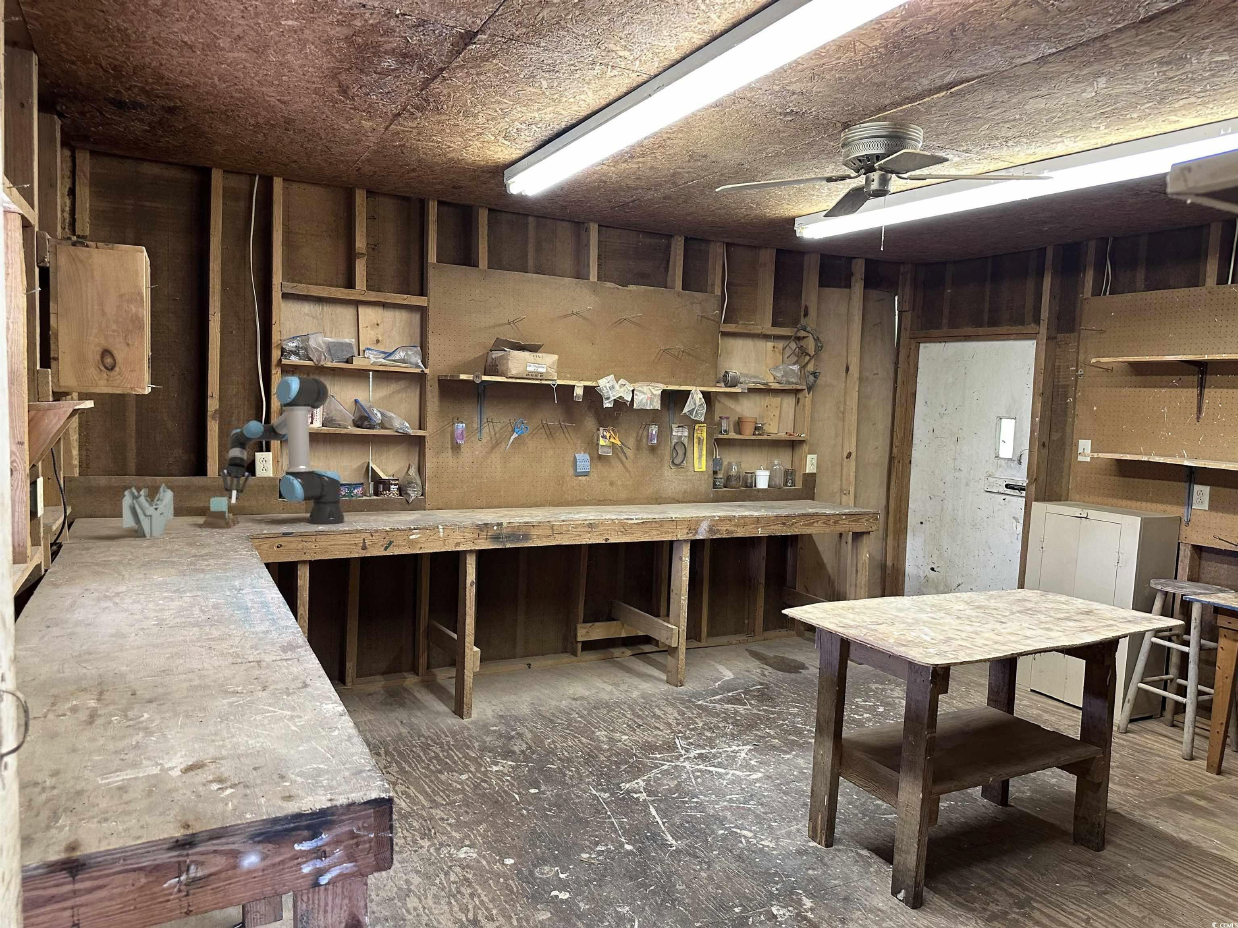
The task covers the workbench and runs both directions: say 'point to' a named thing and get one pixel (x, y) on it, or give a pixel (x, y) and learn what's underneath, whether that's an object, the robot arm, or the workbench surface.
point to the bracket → (147, 511)
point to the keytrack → (219, 520)
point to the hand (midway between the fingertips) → (232, 504)
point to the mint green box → (219, 505)
